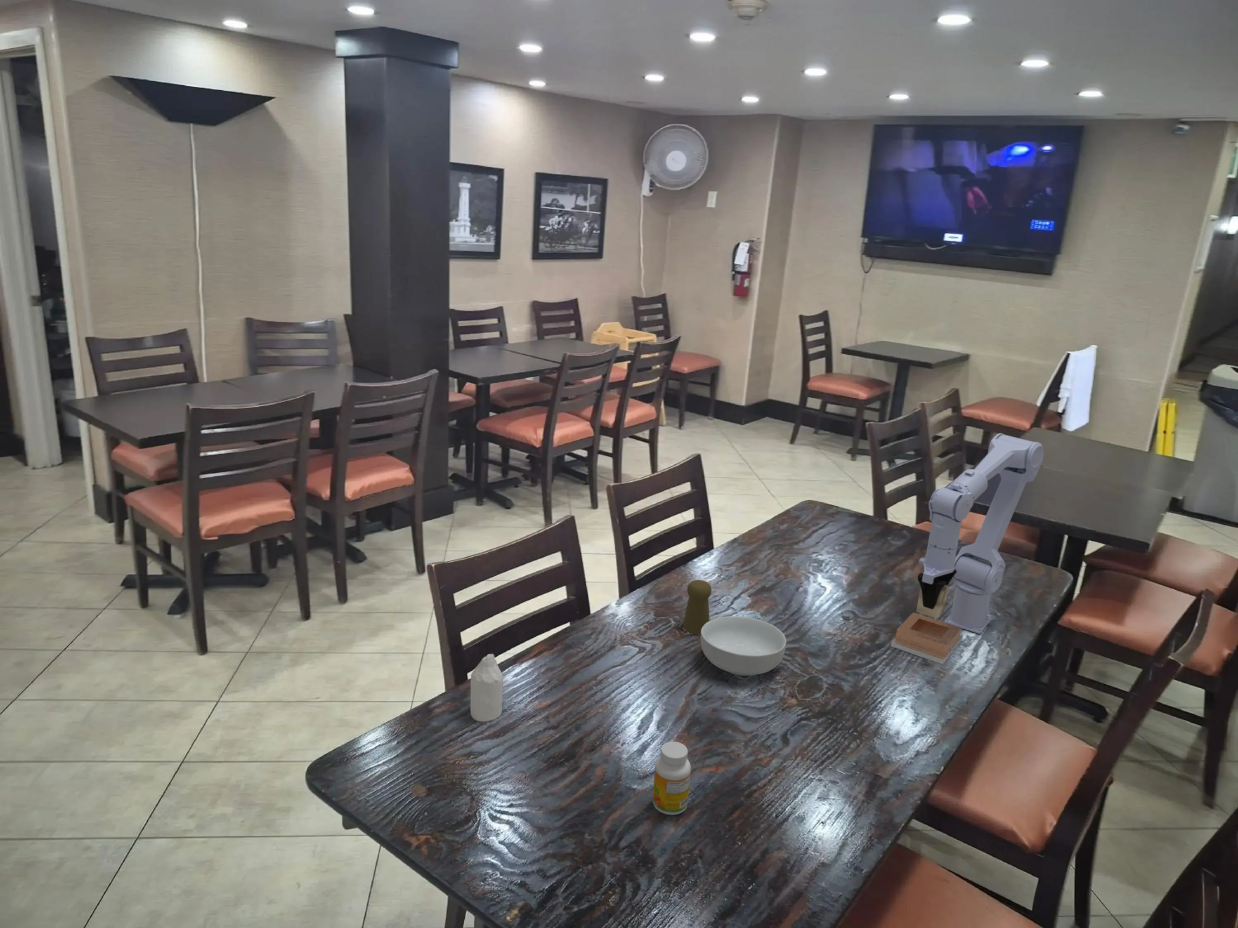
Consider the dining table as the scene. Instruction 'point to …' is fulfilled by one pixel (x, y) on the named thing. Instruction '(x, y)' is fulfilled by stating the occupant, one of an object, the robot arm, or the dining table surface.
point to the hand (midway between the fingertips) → (932, 603)
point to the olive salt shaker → (697, 606)
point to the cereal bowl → (742, 645)
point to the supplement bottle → (672, 779)
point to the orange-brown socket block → (927, 638)
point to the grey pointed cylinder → (486, 690)
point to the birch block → (938, 607)
